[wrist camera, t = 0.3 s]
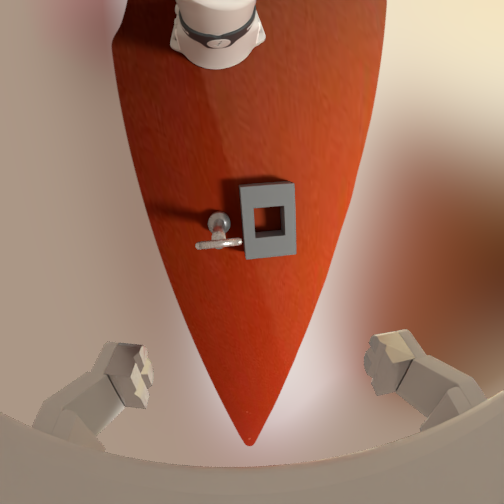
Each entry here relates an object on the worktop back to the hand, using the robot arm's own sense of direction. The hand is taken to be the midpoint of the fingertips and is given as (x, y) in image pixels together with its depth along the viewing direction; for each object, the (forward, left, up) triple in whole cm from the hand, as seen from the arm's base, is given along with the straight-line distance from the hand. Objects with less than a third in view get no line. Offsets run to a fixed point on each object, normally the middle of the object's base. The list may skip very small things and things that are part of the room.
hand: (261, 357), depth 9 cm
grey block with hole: (+7, +7, -47) cm, 48 cm away
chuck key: (+7, -2, -47) cm, 47 cm away
